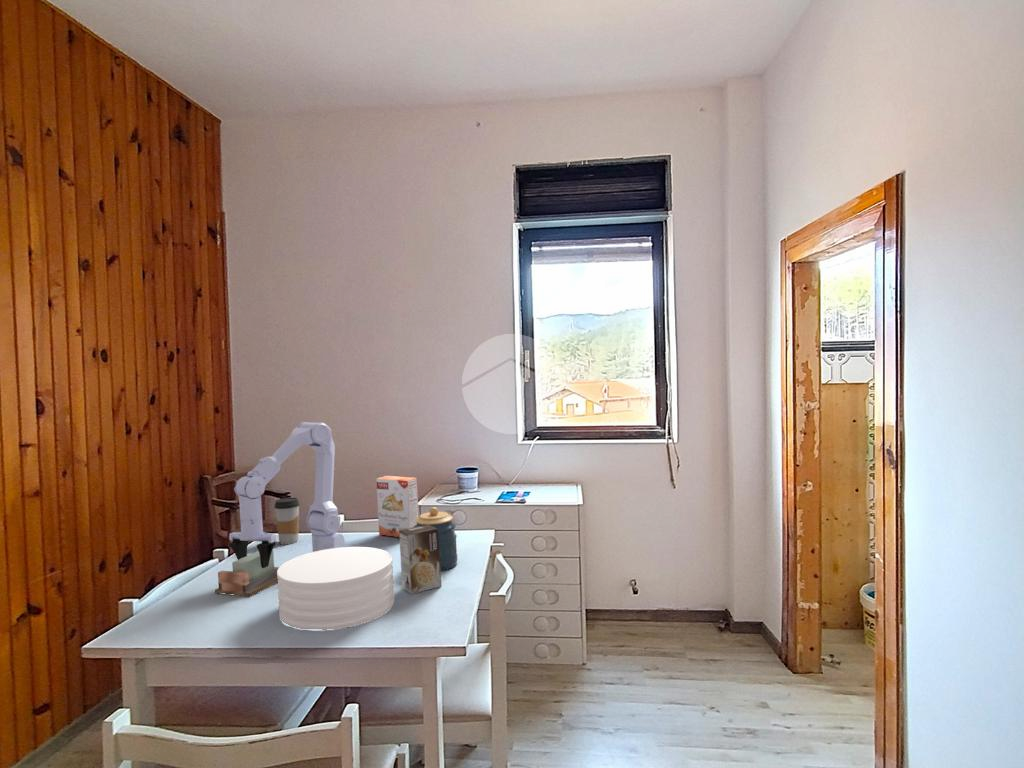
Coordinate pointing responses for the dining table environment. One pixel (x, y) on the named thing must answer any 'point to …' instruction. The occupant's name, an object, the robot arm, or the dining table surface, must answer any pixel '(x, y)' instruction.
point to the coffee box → (420, 558)
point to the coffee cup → (287, 520)
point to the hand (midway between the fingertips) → (254, 566)
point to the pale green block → (253, 565)
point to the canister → (442, 535)
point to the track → (244, 582)
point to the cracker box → (396, 504)
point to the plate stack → (335, 587)
